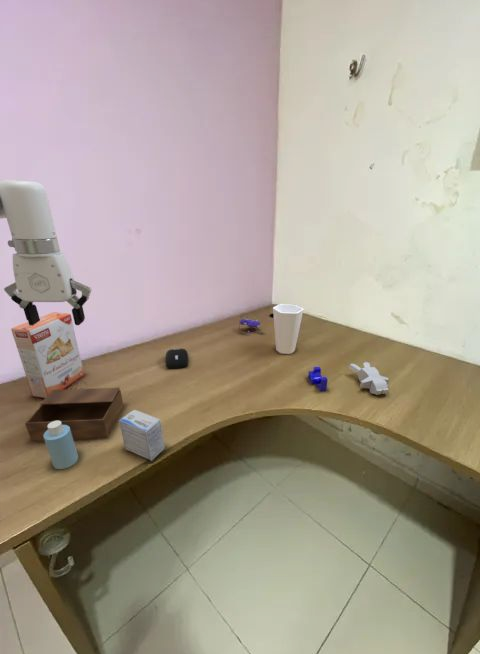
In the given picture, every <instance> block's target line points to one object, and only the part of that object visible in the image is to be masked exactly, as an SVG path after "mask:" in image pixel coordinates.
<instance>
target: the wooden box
mask: <svg viewBox="0 0 480 654" xmlns="http://www.w3.org/2000/svg"><path fill="white" fill-rule="evenodd" d="M123 408H124V401H123V396H122V390H121V389H119V391H118V393H117V394H116V396H115V398H114V400H113V402H106V403H80V404H54V405H40V406H39V407H38V409H37V410H35V412H34V413H33V414H31V416H30V417H29V418H28V420H27V421H26V422H25V427H26V430H27V432H28V435H29V438H30V440H31V442H45V440H44V437H43V435H44V433H45V432H46V431H47V430H48V427H47V425H48V424H49V423H51V422H53V421H61V423H62V425H67V426H69V427H70V430H71V434H72V437H73V440H90V439H107V438H109V436H110V434H111V431H112V430H113V427H114V426H115V424H116V422H117V420H118V419H119V415H120V414H121V412H122V410H123Z"/></svg>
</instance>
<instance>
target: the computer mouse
mask: <svg viewBox="0 0 480 654" xmlns="http://www.w3.org/2000/svg"><path fill="white" fill-rule="evenodd" d="M165 365H166V368H167V369H180V368H181V369H182V368H186V367H187V366H188V365H189V353H188V350H187V349H185V348H172V349H168V350H167V351H166V353H165Z"/></svg>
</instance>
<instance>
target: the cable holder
mask: <svg viewBox="0 0 480 654" xmlns="http://www.w3.org/2000/svg"><path fill="white" fill-rule="evenodd" d="M307 379H308V381H309V383H310V384H311V385H316V386H317V388H318V391H320V392H326V391H327V387H328V381H329V380H328V378H327V376H322V368H321V367H320V366H314V367H313V370H310V371H308V376H307Z"/></svg>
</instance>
